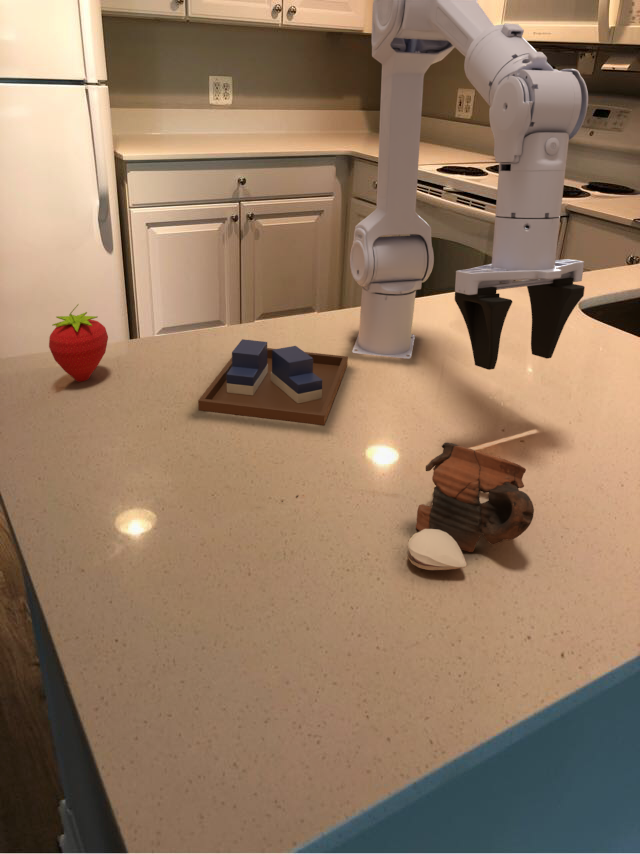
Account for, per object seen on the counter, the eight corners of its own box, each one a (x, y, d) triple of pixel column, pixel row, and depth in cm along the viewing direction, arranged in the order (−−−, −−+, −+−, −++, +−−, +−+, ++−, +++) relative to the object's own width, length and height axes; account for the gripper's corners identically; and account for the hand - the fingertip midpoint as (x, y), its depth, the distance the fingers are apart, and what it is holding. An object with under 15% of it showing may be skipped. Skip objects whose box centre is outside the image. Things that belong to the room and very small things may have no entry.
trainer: (270, 380, 86) (270, 348, 84) (293, 376, 88) (294, 344, 86) (297, 403, 81) (298, 370, 79) (321, 398, 82) (323, 365, 80)
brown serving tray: (241, 357, 94) (241, 345, 93) (347, 369, 92) (347, 356, 91) (198, 414, 79) (197, 400, 78) (324, 430, 77) (324, 415, 76)
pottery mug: (386, 518, 64) (414, 431, 63) (460, 536, 69) (486, 455, 68) (479, 564, 53) (513, 460, 53) (558, 581, 58) (589, 486, 58)
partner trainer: (243, 369, 89) (242, 338, 87) (267, 372, 88) (268, 340, 86) (226, 392, 83) (225, 359, 81) (253, 395, 82) (253, 362, 80)
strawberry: (123, 375, 87) (116, 297, 83) (84, 399, 81) (73, 316, 76) (84, 367, 89) (74, 289, 84) (42, 389, 83) (29, 307, 78)
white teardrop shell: (424, 540, 60) (428, 515, 59) (477, 565, 57) (481, 540, 56) (396, 564, 57) (399, 539, 56) (450, 592, 54) (454, 566, 53)
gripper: (499, 223, 58) (486, 382, 63) (617, 216, 65) (597, 360, 69) (443, 218, 63) (435, 364, 68) (557, 211, 70) (542, 345, 75)
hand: (513, 361), depth 69 cm, fingers open, 7 cm apart
